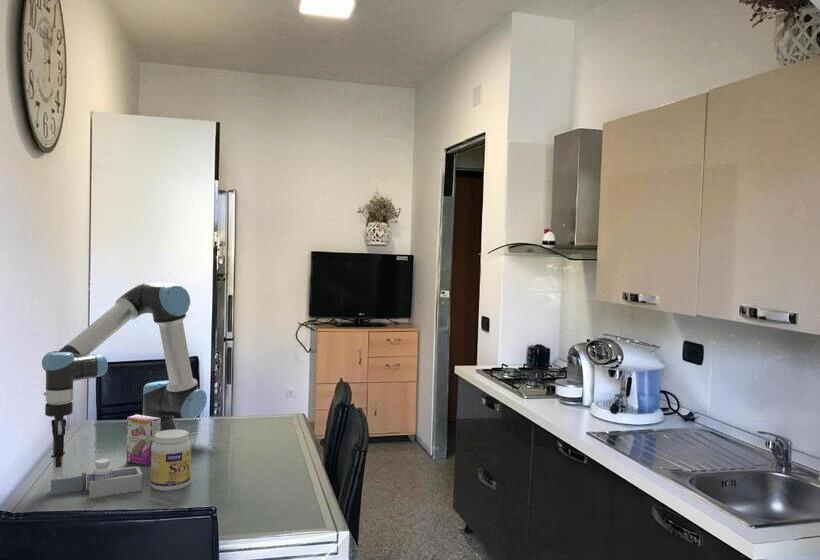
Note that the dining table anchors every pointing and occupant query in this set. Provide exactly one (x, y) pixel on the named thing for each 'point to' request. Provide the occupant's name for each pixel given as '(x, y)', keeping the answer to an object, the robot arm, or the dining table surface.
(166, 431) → the supplement tub
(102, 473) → the pill bottle
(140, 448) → the candy bar box
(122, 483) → the open rectangular tray
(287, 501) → the dining table surface
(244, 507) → the dining table surface
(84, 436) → the dining table surface
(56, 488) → the cover flap
